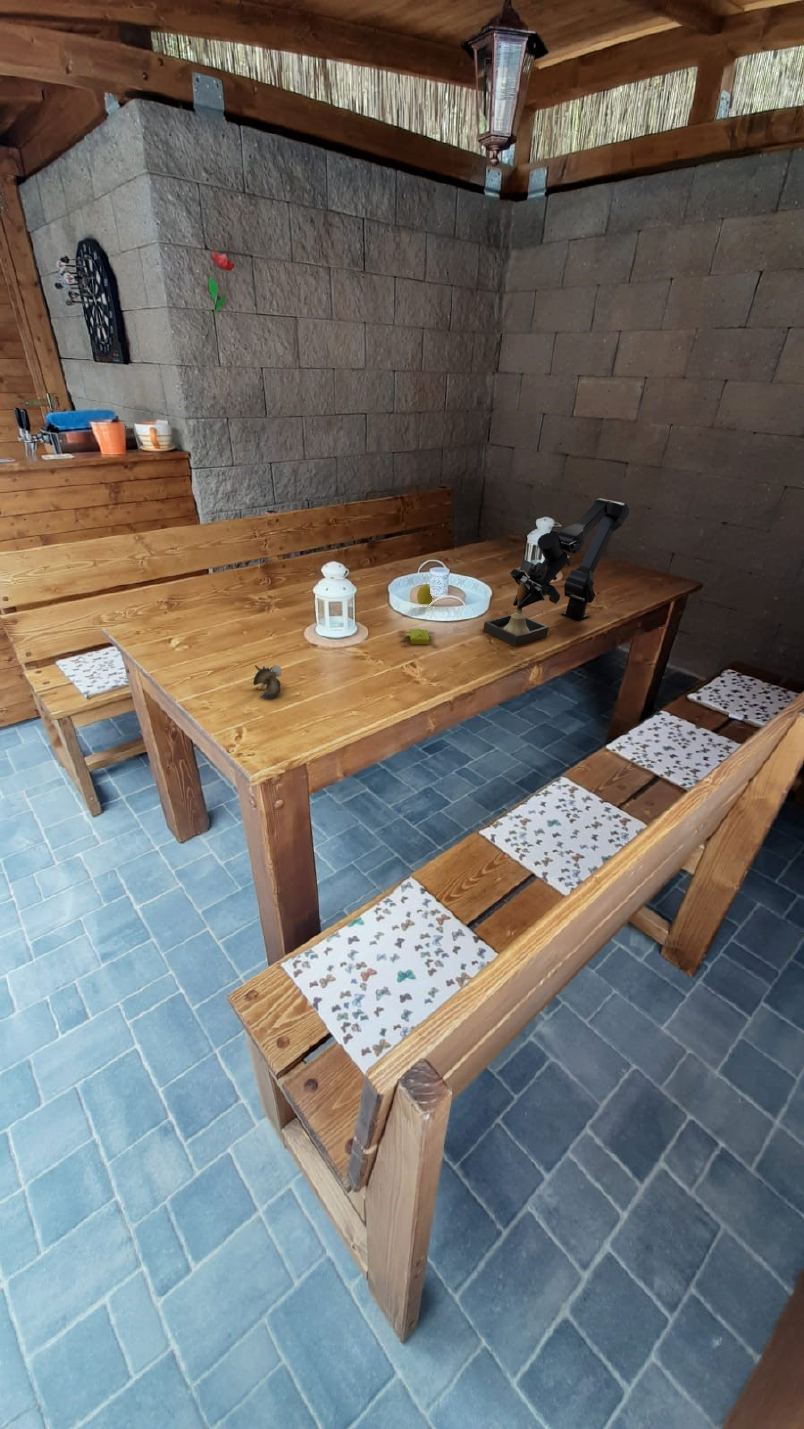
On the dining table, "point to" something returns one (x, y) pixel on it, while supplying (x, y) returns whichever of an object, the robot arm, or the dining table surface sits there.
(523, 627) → the hand bell
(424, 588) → the olive green oval piece
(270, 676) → the dark creature figurine
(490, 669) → the dining table surface
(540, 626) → the bin
